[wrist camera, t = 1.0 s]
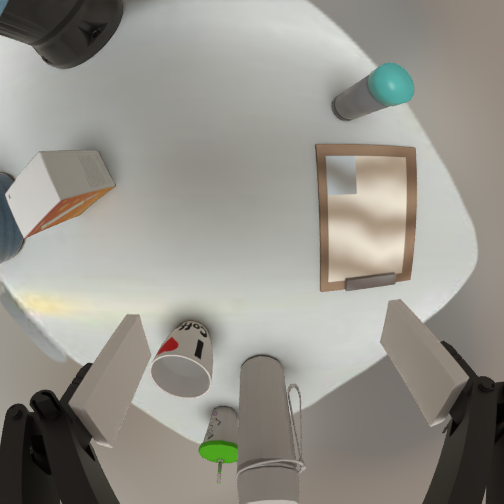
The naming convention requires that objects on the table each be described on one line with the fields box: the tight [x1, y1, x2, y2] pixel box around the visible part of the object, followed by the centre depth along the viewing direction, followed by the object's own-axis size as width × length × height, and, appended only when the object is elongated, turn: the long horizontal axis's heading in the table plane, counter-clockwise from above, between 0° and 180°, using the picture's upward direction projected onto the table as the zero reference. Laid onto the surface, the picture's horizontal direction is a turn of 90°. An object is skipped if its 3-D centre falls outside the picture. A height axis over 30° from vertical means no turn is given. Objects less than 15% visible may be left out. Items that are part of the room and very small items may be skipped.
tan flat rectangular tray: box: [315, 144, 417, 292], centre depth 34 cm, size 20×15×2 cm
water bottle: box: [236, 356, 306, 504], centre depth 31 cm, size 9×8×25 cm
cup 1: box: [150, 321, 213, 399], centre depth 36 cm, size 8×8×10 cm
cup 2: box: [199, 406, 238, 483], centre depth 40 cm, size 8×8×15 cm
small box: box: [5, 150, 115, 239], centre depth 27 cm, size 8×6×13 cm
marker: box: [332, 63, 414, 121], centre depth 24 cm, size 4×4×14 cm
